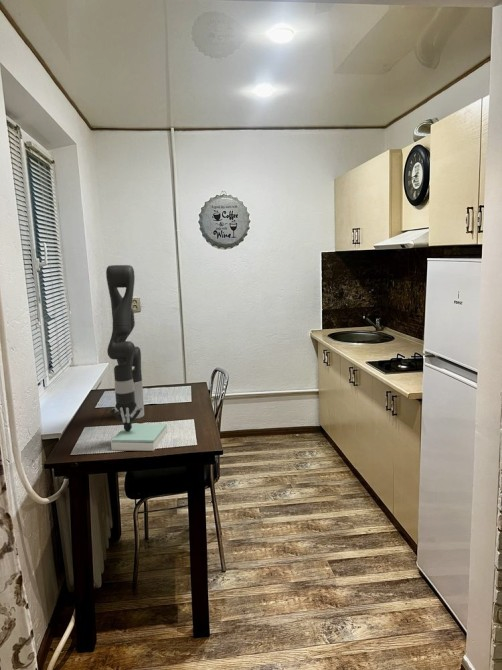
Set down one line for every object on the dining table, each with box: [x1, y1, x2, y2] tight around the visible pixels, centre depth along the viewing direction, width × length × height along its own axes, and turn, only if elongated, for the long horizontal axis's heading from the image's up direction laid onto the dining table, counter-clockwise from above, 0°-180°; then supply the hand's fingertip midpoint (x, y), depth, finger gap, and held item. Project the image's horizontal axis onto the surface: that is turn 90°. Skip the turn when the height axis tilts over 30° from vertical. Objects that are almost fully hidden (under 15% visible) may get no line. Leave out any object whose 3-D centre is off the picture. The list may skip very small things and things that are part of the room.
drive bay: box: [110, 425, 168, 452], centre depth 198 cm, size 19×17×3 cm
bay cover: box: [110, 423, 168, 443], centre depth 197 cm, size 18×17×1 cm
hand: (128, 430), depth 199 cm, fingers closed
